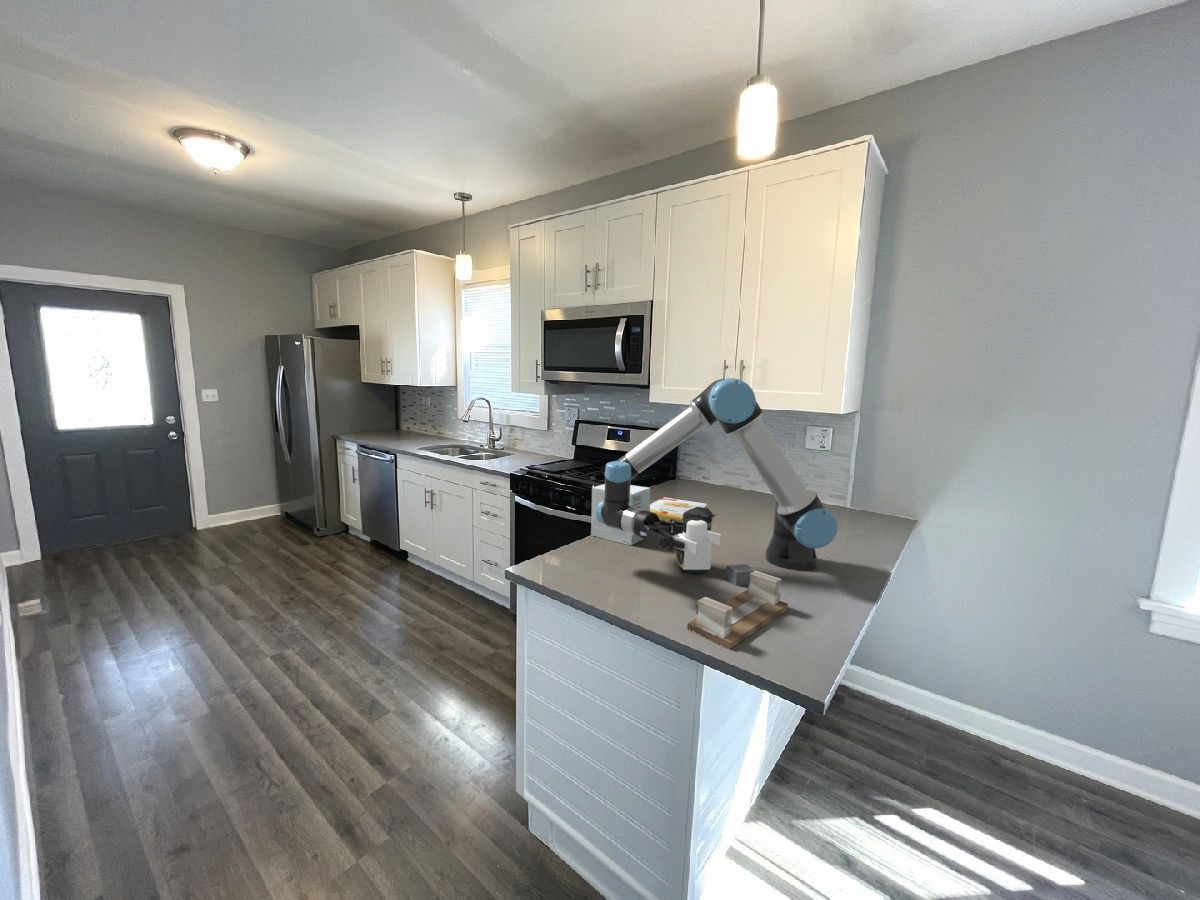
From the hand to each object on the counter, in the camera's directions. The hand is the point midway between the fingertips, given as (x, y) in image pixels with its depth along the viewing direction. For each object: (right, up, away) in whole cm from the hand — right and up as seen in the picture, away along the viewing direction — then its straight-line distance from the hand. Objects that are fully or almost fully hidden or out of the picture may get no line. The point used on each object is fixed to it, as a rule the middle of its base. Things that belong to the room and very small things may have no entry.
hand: (709, 544), depth 119 cm
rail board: (+6, -17, -4) cm, 19 cm away
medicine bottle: (-3, -6, +4) cm, 8 cm away
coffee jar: (+1, -13, +26) cm, 29 cm away
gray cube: (+13, -14, +18) cm, 26 cm away
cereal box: (+3, -5, +78) cm, 79 cm away
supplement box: (-20, -8, +54) cm, 58 cm away
